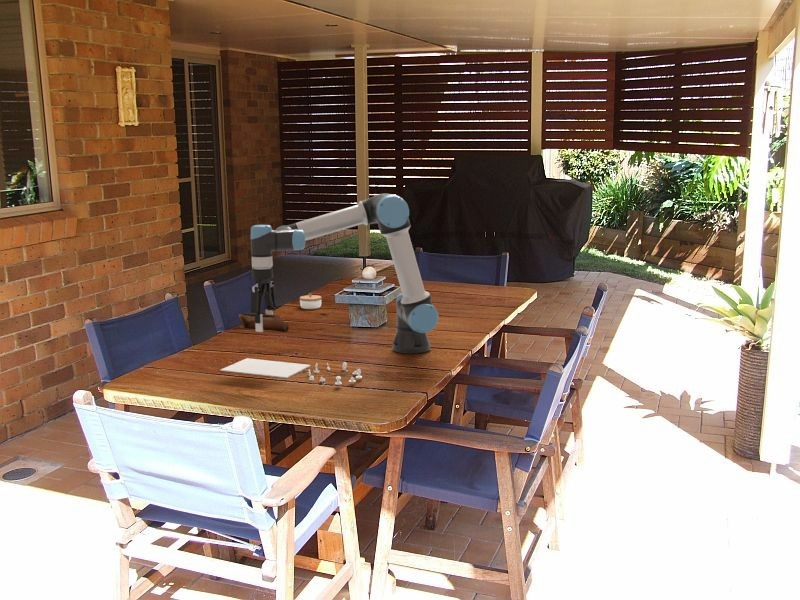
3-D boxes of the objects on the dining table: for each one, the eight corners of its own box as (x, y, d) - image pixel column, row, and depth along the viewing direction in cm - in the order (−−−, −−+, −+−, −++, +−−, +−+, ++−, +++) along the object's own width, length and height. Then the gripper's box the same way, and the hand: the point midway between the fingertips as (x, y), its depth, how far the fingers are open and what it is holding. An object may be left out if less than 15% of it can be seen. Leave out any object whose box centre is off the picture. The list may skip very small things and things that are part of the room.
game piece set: (332, 367, 316) (332, 357, 315) (372, 376, 303) (372, 365, 303) (294, 378, 301) (294, 367, 300) (335, 388, 288) (335, 377, 288)
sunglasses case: (237, 312, 309) (247, 309, 315) (238, 331, 310) (248, 327, 316) (280, 315, 302) (289, 312, 308) (280, 334, 304) (290, 331, 310)
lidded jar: (326, 311, 417) (325, 293, 415) (312, 315, 408) (312, 296, 406) (309, 309, 423) (308, 291, 421) (295, 313, 414) (295, 294, 412)
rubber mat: (310, 365, 316) (310, 364, 316) (286, 378, 299) (286, 377, 299) (246, 359, 326) (246, 358, 326) (220, 370, 310) (220, 369, 310)
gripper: (267, 263, 316) (269, 323, 320) (238, 271, 298) (241, 334, 302) (284, 264, 313) (286, 324, 317) (256, 272, 295) (259, 336, 300)
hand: (264, 329), depth 310 cm, fingers closed on sunglasses case, 7 cm apart
